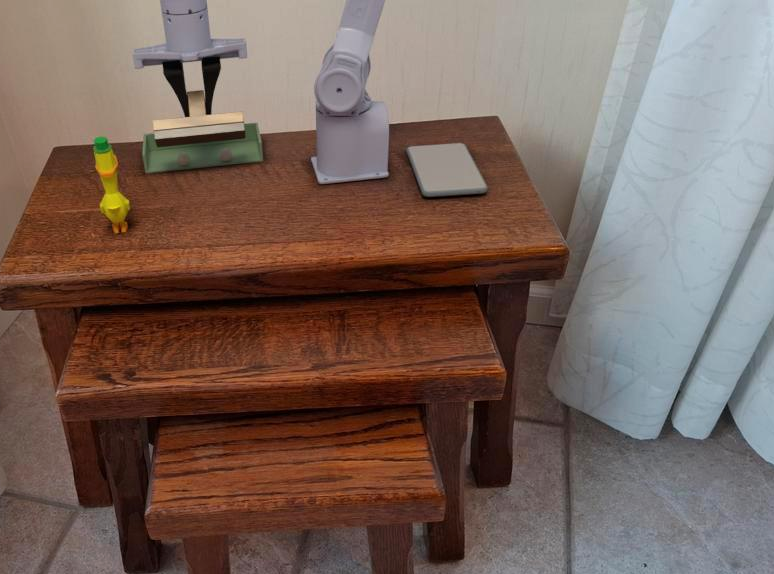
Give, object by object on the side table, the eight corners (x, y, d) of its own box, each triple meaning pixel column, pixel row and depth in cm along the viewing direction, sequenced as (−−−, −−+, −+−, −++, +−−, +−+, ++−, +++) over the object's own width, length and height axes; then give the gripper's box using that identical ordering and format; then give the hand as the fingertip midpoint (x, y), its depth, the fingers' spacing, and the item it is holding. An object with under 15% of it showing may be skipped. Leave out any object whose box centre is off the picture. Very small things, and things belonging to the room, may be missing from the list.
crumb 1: (191, 152, 108) (188, 164, 108) (190, 157, 110) (187, 169, 109) (179, 149, 107) (176, 161, 107) (177, 154, 109) (175, 165, 109)
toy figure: (106, 217, 99) (86, 126, 91) (134, 214, 99) (116, 123, 91) (106, 243, 94) (84, 149, 86) (135, 239, 94) (116, 145, 86)
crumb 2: (231, 161, 108) (230, 163, 110) (233, 148, 108) (232, 151, 110) (219, 158, 108) (218, 161, 109) (221, 145, 108) (220, 148, 109)
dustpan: (263, 161, 109) (261, 142, 107) (145, 173, 108) (142, 154, 107) (257, 135, 116) (256, 116, 114) (147, 146, 116) (144, 128, 114)
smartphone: (464, 141, 107) (489, 188, 96) (464, 148, 108) (488, 195, 96) (405, 145, 108) (422, 192, 96) (405, 152, 108) (422, 199, 97)
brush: (245, 139, 104) (240, 94, 104) (245, 130, 101) (240, 84, 101) (157, 147, 103) (152, 103, 104) (154, 139, 100) (149, 93, 101)
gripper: (124, 23, 92) (143, 133, 101) (244, 11, 92) (253, 122, 101) (127, 7, 97) (145, 113, 106) (241, -4, 98) (249, 103, 106)
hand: (198, 116), depth 104 cm, fingers closed on brush, 2 cm apart
